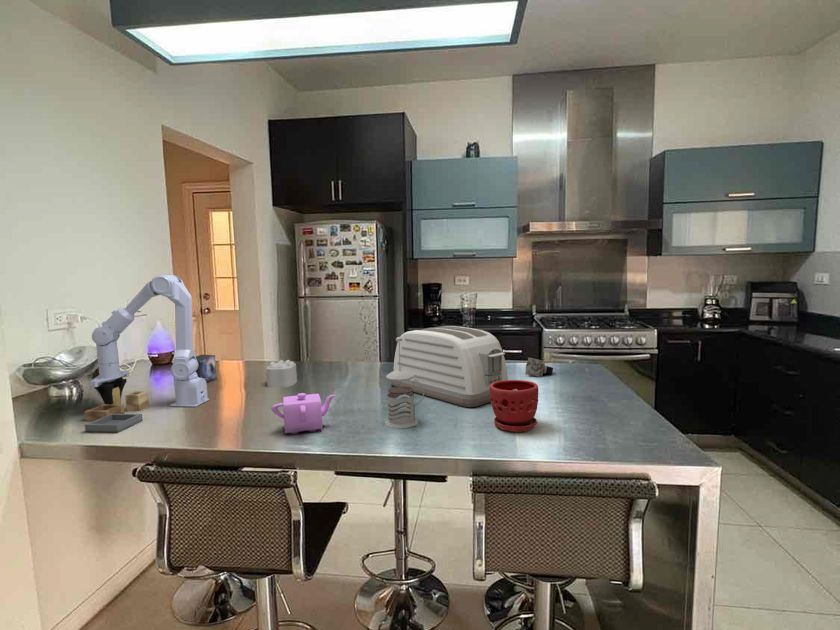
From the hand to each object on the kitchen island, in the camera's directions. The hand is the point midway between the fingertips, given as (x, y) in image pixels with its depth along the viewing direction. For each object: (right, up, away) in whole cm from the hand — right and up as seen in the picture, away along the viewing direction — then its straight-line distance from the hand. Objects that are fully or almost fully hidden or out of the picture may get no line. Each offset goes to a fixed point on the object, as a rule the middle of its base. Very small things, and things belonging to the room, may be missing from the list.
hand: (112, 402), depth 154 cm
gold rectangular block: (0, -2, 0) cm, 2 cm away
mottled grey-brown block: (+150, +5, +33) cm, 153 cm away
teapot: (+70, -3, -23) cm, 74 cm away
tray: (+12, -4, -17) cm, 21 cm away
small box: (+14, +2, +34) cm, 36 cm away
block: (+9, -2, -1) cm, 9 cm away
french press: (+97, -2, -19) cm, 99 cm away
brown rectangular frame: (+3, -3, -8) cm, 9 cm away
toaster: (+113, +2, +12) cm, 113 cm away
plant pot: (+128, -2, -25) cm, 130 cm away
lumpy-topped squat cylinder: (+48, +2, +30) cm, 56 cm away
